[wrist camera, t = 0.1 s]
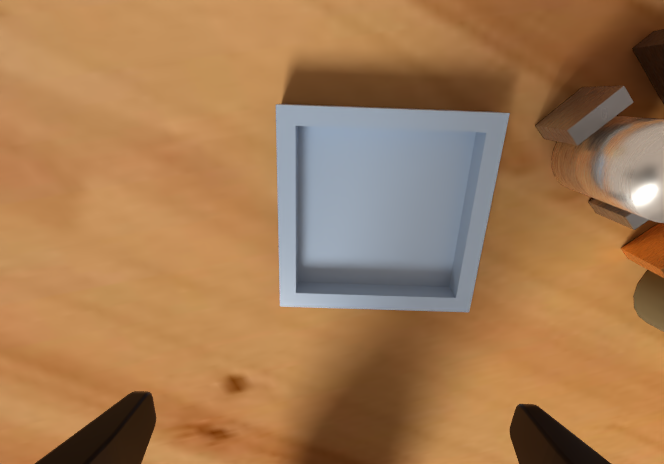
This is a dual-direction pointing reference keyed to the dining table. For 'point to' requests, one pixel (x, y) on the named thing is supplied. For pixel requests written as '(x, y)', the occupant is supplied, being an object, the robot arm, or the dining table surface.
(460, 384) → the dining table surface
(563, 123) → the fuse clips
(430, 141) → the tray
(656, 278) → the olive knobbed post
